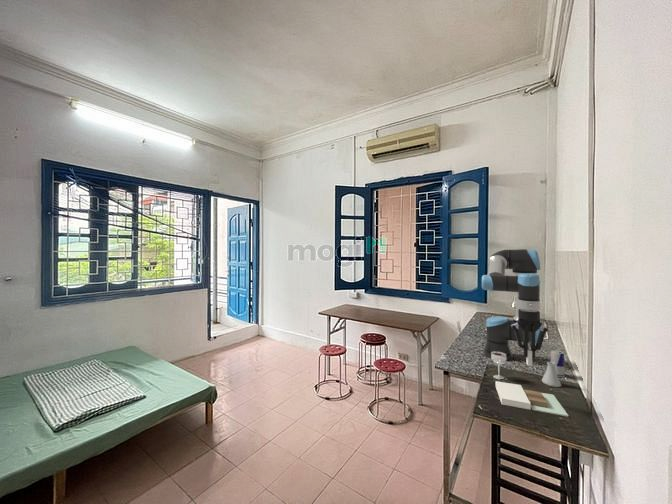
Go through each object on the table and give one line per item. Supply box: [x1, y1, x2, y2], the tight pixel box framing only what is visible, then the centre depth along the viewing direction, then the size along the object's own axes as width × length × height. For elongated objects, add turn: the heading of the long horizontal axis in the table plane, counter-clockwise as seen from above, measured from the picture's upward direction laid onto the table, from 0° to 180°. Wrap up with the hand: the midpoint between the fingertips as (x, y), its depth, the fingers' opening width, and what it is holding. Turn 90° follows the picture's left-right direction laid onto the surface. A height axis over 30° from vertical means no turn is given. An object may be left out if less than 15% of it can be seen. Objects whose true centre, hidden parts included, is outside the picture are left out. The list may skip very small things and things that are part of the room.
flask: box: [541, 361, 563, 388], centre depth 127 cm, size 7×7×10 cm
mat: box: [531, 392, 569, 418], centre depth 112 cm, size 16×12×1 cm
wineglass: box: [490, 351, 508, 380], centre depth 134 cm, size 7×7×12 cm
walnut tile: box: [523, 388, 548, 408], centre depth 112 cm, size 9×6×2 cm, turn 157°
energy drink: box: [550, 349, 565, 378], centre depth 136 cm, size 5×5×12 cm
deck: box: [495, 380, 532, 410], centre depth 116 cm, size 16×10×2 cm, turn 157°
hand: (529, 364), depth 114 cm, fingers closed
